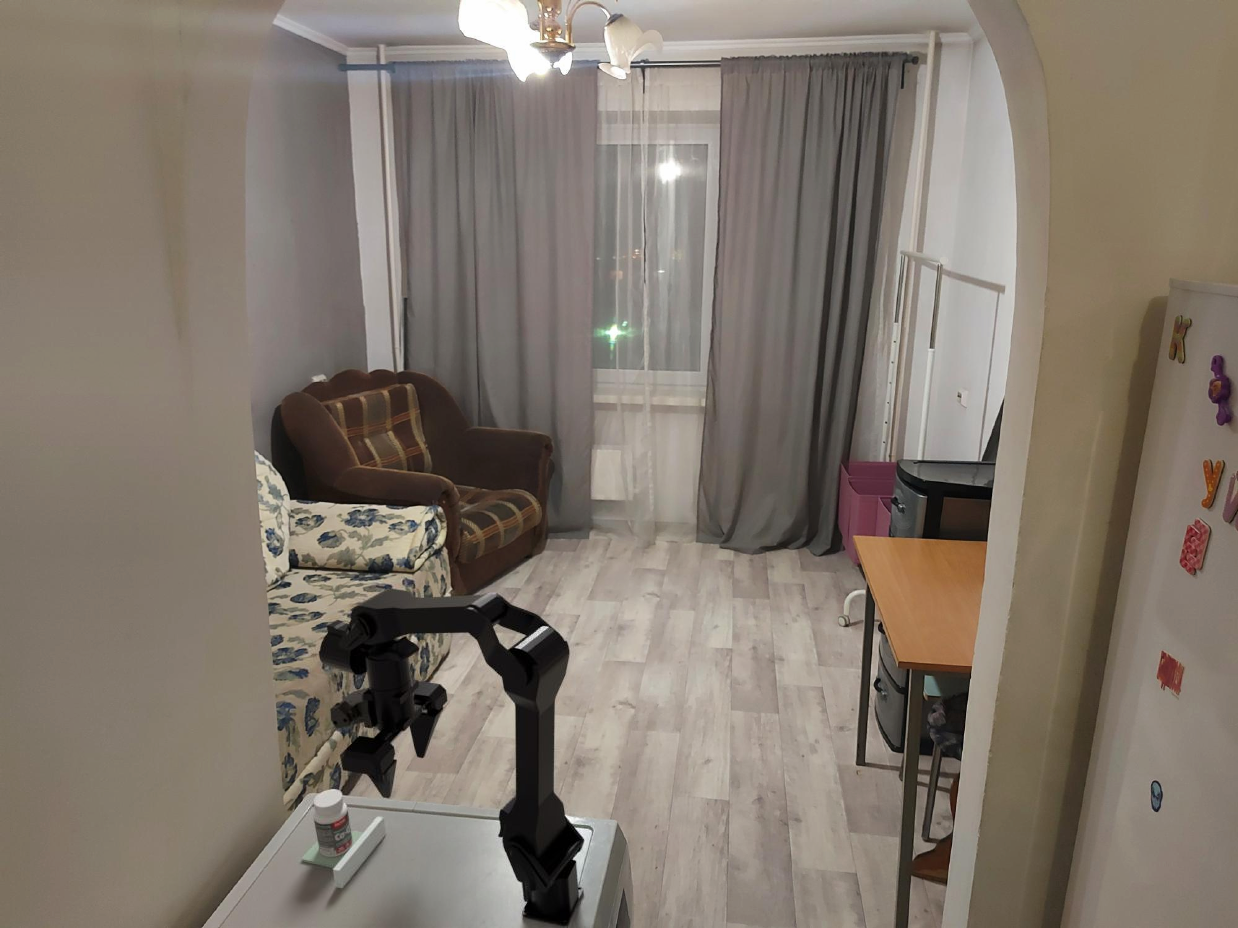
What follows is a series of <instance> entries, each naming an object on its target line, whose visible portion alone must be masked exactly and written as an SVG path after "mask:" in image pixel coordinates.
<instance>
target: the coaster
mask: <svg viewBox="0 0 1238 928" xmlns="http://www.w3.org/2000/svg"><path fill="white" fill-rule="evenodd" d="M351 833H352V839H353V843H352V846H353V845H354V844H355V843H356V841H357V840H358V839H359V838H360V837H361V835H362V834H363V833H364V832H362V831H356V830H352V829H351ZM352 846H351V847H352ZM351 847H350V848H351ZM350 848H349V850H350ZM349 850H347V851H346V852H345V853H343V854H341V855H339V856H335V857H327V856H324V855H322V854H321V853H320V850H319V845H318V840H317V841H315V843H314V844H313V845H312V846H311V847H310V849H309V850H308V851H307V852H306V853H305V854H304V855H303V856H302V858H300V860H301V862H303V863H304V862H305V863H308V864H312V865H318V866H322V867H326V868H331V869H334V867H335V866H336V865H337V864H338V863H339V862H340V860H341V859H342V858H343V857H344V856H345V854H346V853H347V852H348V851H349Z"/></svg>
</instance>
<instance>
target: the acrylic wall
mask: <svg viewBox="0 0 1238 928" xmlns="http://www.w3.org/2000/svg"><path fill="white" fill-rule="evenodd" d="M385 825H386V824H385V820H384V816H376V817H375V819H374V820H373V821H372V823H371V824H370V825H369V826H368V827H367V828H366V829H365V831H364V832H362V833H363V834H362V835H361V837H360V838H359V839H358V840H357V841H356V843H355V844H354V845H353V846H352V847H351V848H350V850H349V851H348V852H347V853H346V854H345V856H344V857H343V858H342V859H341V860H340V862H339V863H338V864H337V865H336V866H335V867H334V868H332V872H333V873H332V874H333V878H334V883H335V888H339V889H343V888H344V887H345V886H346V884H347V883H348V882H349V881H350V880H351V878H352V877H353V876H354V874H355V873H357V871H358V870H359V868H360V867H361V866H362V865H363V863H364V862H365V861H366V859H367V858H368V857H369V856H370V855H371V853H372V852H373V851H375V850H374V849H376V848H377V846H378V845H379V843H381V841H382V840H383V839H384V838H385V836H386V835H387V832H386V826H385Z"/></svg>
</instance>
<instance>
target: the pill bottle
mask: <svg viewBox="0 0 1238 928" xmlns="http://www.w3.org/2000/svg"><path fill="white" fill-rule="evenodd" d="M313 808H314V812H313V822H314V827H315V828H314V829H315V835H316V840H317V841H318V845H319V850H320V853H321V854H322V855H324V856H327V857H335V856H339V855H341V854H343V853H345V852H346V851H347V850H349V848H350V847H351V846H352V843H353V839H352V833H351V830H352V827H351V822H350V815H349V810H348V806H347V804H346V803H345V801H344V797H343V792H342V791H341V790H339V789H333V788H332V789H326V790H324V791H322V792H319V793H318V794H317V795H316V796H315V798H314V799H313Z"/></svg>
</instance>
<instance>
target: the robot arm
mask: <svg viewBox="0 0 1238 928" xmlns="http://www.w3.org/2000/svg"><path fill="white" fill-rule="evenodd" d="M497 625H498V626H500V627H502V628H504V629H507V630H510V631H512V632H515V633H518V634H522V635H524V636H523V637H522V638H521V639H520V640H519V641H517V642H515V644H513V645H512V646H510V647H509V648H508V649H507V648H506V646H504V645H503V644H502V643H501V642H500V640H499V637H498V635H497V633H496V630H495V628H494V627H495V626H497ZM326 629H327V632H326V635H324V637H323V639H322V641H321V644H320V648H319V650H318V657H319V660H320V662H321V663H322V664H323V665H324V666H325V667H328V668H333V669H336V670H337V671H338V670H339V671H342V672H345V673H349V674H352V675H356V676H361V675H364V674H366V676H367V683H368V687H366V688H362V689H358V690H355V691H353V692H351V693H349V694H347V696H346V697H344V699H342V700H341V701H340V702H336V703H335V704H334V705H333V706H332V707H331V708H329V710H330V712H329V713H330V720H331V722H332V724H333V727H334V728H336V729H339V730H340V729H343V728H345V729H348V728H350V726H353V725H359V724H362V723H363V727H364V728H366V729H373V728H376V730H377V731H379V732H378V733H377V734H376V735H375V736H374V737H371V736H365V735H364V736H363V735H358V736H357V737H356V738H355V739H354V740H353V741H352V742H351V743H350V744H349V745H348V746H347V747H346V748H345V749H344V750H343V751H342V752H341V753H340V754H339V759H340V765H341V766H340V767H341V770H342V771H345V772H350V773H351V772H352V773H357V774H361V775H366V776H367V777H369V779H370V781H371V782H372V783H373V785H374V787H375V788H376V790H377V791H378V793H379V794H380V795H381V797H383V799H384V798H385V799H390V798H391V797H392V793H393V787H394V782H395V774H396V769H397V762H398V760H397V759H394V758H395V756H396V755H395V754H396V751H395V746H394V745H393V743H394V742H395V741H396V739H398V738H399V737H400V735H402V734H403V732H405V731H406V730H407V729H408V728H409V730H410V734H411V739H412V744H413V748H414V752H415V755H416V757H417V758H420V759H423V758H425V756H426V754H427V751H428V748H429V746H430V743H431V740H432V737H433V734H434V733H435V729H436V727H437V725H438V722H439V719H440V717H441V714H442V712H443V711H444V706H445V704H446V703H447V702H448V694H447V693H448V692H447V689H446V688H445V687H444V686H443V685H442V684H441V683H436V682H428V681H421V680H419V679H414V678H412V671H411V666H410V658H411V657H412V656H413V655H415V654H416V653H418V652H419V651H420V646H418V644H416V643H415V642H414V641H413V642H412V641H411V640H410V639H409V638H408V636H406V635H410V634H415V635H417V634H418V635H419V634H423V635H424V634H426V635H427V634H469V635H470V636H471V637H472V638H474V639H475V640H476V641H477V643H478V647H479V649H480V651H481V654H482V656H483V659H484V661H485V663H486V665H487V666H489V667H490V668H491V669H492V670H493V672H495V673H496V674H498V676H500V677H501V680H502V681H501V682H502V686H503V691H504V692H505V694H506V696H508V697H509V699H510V700H511V701H512V702H513V703H514V708H515V709H514V710H515V711H514V713H515V714H514V715H515V716H514V717H515V719H514V720H515V721H514V722H515V724H514V725H515V726H514V727H515V728H514V729H515V731H514V732H515V733H514V734H515V742H514V744H515V753H514V754H515V794H514V795H513V796H512V797H511V798H510V799H509V800H508V802H506V803H505V804H504V806H503V807H502V808H500V810H499V814H498V819H499V826H500V829H499V833H498V835H497V837H498V838H502V839H501V840H502V841H501V843H502V847H503V850H504V852H505V854H506V857H507V859H508V861H509V864H510V866H511V868H512V870H513V871H512V872H513V874H514V875H515V878H516V879H515V880H516V881H518V882H519V883H521V886H522V887H521V888H522V896H523V897H522V898H523V902H524V903H525V905H524V907H523V909H522V910H521V913H522V914H521V915H522V917H523V918H527V919H531V920H536V921H541V922H545V923H549V924H555V925H558V926H563V927H565V926H566V927H567V926H568V925H569V924H570V922H571V919H572V917H573V915H574V912H575V911H576V909H577V906H578V904H579V902H580V900H581V898H582V895H583V893H584V886H582V885H579V879H578V868H577V867H578V866H577V860H575V859H574V858H575V857H576V856H577V855H578V854H579V853H580V852H581V851H582V849H583V846H584V844H585V839H584V837H583V836H582V835H581V833H580V832H579V831H578V830H577V828H576V827H575V826H574V825H573V823H572V822H571V821H570V820H569V819H568V818H567V816H566V811H565V805H564V803H563V801H562V799H561V798H560V797H559V796H558V794H556V793H555V726H556V725H555V724H556V723H555V721H556V717H555V716H556V715H555V714H556V712H555V711H556V706H555V705H556V698H557V695H558V693H559V691H560V688H561V686H562V685H563V681H564V680H565V677H566V675H567V674H566V673H567V671H568V670H567V669H568V664H569V660H570V653H571V652H570V645H569V642H568V640H567V639H564V637H563V636H562V635H561V633H560V632H559V631H557V630H556V629H555V628H554V627H553V626H551V625H550V624H549V623H548V622H547V621H546V620H544V619H543V618H542V617H541V616H540V615H538V614H537V613H535V612H532V611H530V610H527V609H524V608H521V607H519V606H517V605H513V604H511V603H510V602H509V601H508V600H507V599H506V598H505V597H503V596H502V595H501V594H499V593H498V592H485V593H484V594H472V595H471V594H470V595H455V596H454V595H452V596H431V597H430V596H428V597H426V596H425V597H419V596H418V597H417V596H414V595H413V594H412V593H411V592H410V591H407V590H403V589H399V588H398V589H397V588H392V587H391V588H387V589H384V590H382V591H380V592H379V593H377V594H375V595H373V596H372V597H369V598H368V599H366V600H364V601H362V602H360V603H359V604H357V605H356V606H353V607H352V608H351V612H350V621H349V623H347V622H345V621H344V620H339V619H337V620H335V621H333V622H331V623H329V624H327V625H326ZM400 637H401V638H400Z"/></svg>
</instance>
